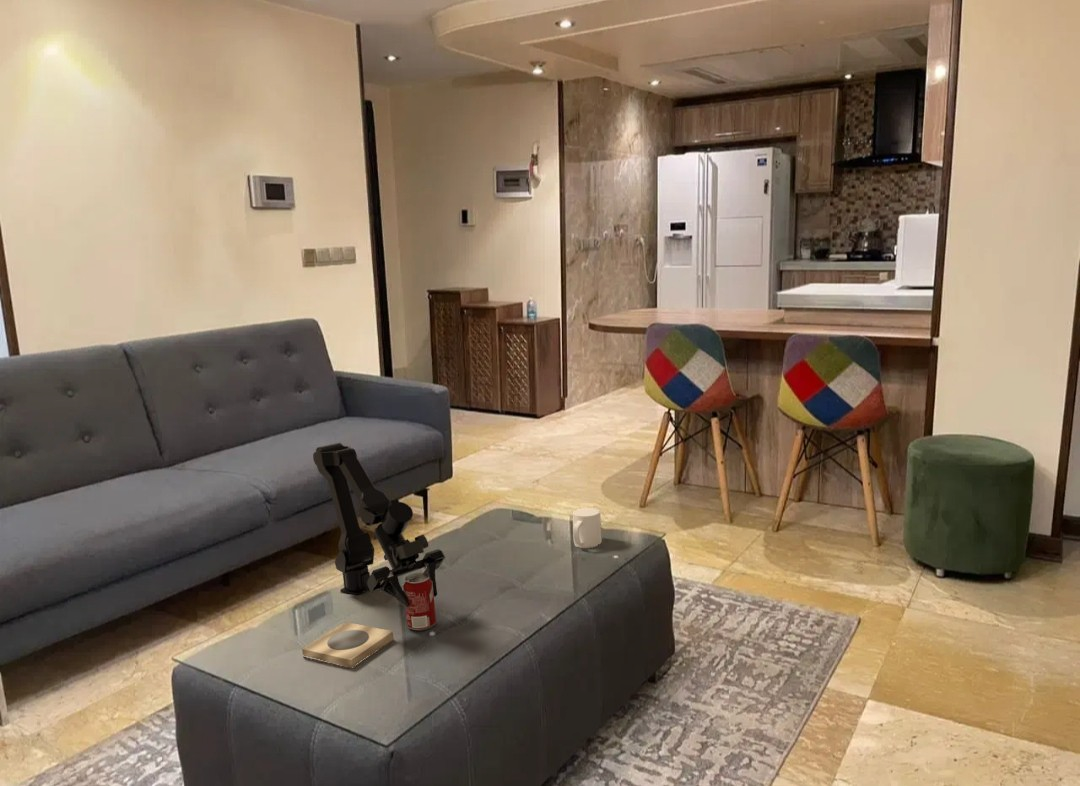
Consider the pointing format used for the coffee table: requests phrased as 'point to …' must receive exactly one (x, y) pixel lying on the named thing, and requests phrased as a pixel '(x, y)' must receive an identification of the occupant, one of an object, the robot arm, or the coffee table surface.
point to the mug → (586, 527)
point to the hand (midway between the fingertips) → (422, 600)
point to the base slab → (348, 644)
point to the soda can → (419, 602)
